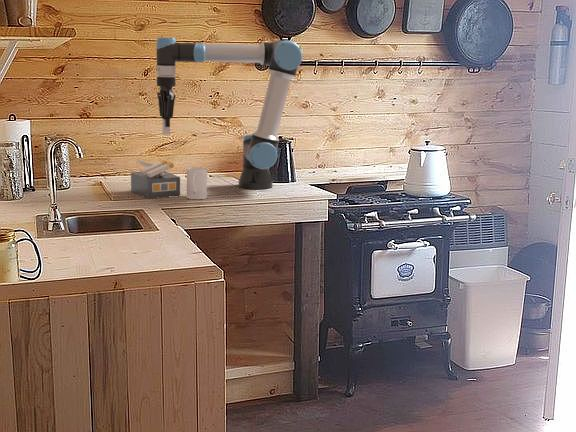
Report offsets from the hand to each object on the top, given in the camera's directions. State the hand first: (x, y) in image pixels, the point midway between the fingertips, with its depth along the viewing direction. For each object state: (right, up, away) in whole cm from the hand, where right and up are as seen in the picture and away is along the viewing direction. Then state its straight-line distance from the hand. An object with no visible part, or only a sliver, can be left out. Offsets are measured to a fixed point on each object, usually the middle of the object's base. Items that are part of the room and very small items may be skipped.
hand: (166, 134), depth 314 cm
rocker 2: (-5, -15, 0) cm, 15 cm away
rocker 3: (-1, -16, -4) cm, 16 cm away
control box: (-5, -24, +3) cm, 25 cm away
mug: (+12, -27, -4) cm, 30 cm away
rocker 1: (-8, -13, +5) cm, 16 cm away
